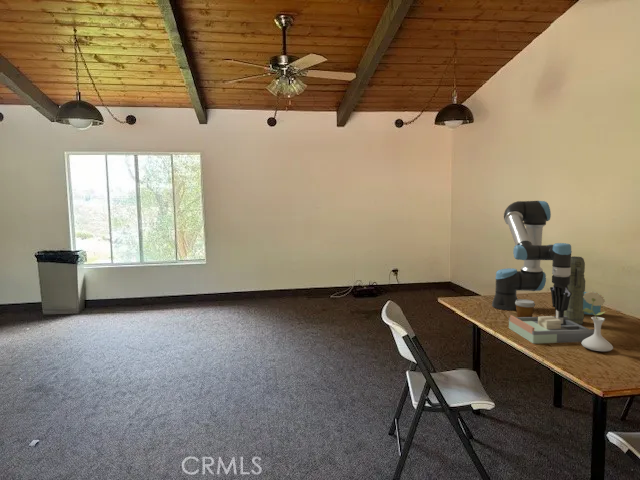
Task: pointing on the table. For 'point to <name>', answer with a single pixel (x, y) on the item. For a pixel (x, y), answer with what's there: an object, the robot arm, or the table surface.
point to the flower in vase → (596, 325)
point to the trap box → (549, 330)
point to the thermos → (576, 291)
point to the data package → (595, 308)
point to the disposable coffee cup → (524, 307)
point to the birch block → (549, 322)
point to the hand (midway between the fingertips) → (559, 323)
